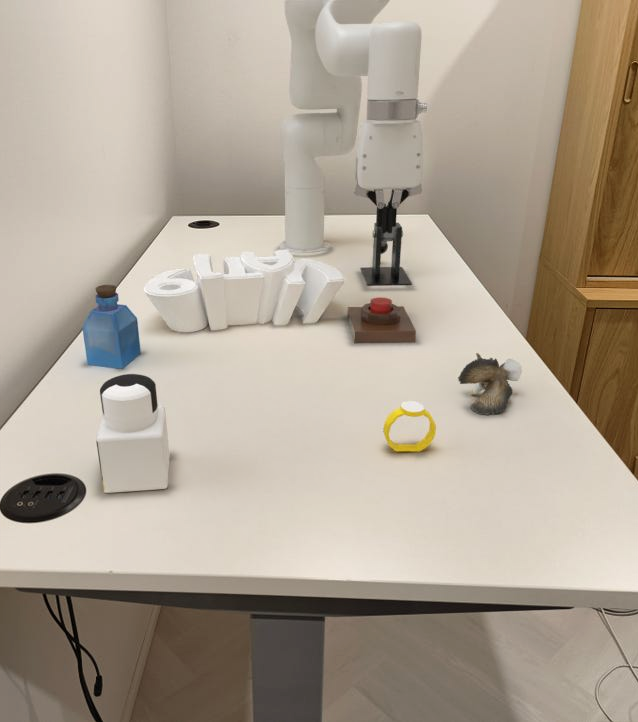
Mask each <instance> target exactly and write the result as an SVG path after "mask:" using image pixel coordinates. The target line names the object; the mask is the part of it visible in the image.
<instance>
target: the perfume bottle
mask: <svg viewBox="0 0 638 722" xmlns="http://www.w3.org/2000/svg"><path fill="white" fill-rule="evenodd" d="M116 291H117V286H116V284H115V285H114V284H102V285H98V286H96V287H95V292H96V295H95V303H96V304H97V307H95V308H93V309H92V310H90V311H89V313H88V315H87V318H86V320H85V322H84V324H83V326H82V328H81V329H82V334H83V341H84V349H85V356H86V363H87V365H89V366H96V367H97V366H98V367H103V368H104V367H105V368H111V369H119V370H123V369H124V368H125V367H126V366H128V365H129V364H130V363H131V362H132V361H134V360H135V359H136V358H138V357H139V356H140V355H141V354H142V352H141V351H142V350H141V342H140V332H139V323H138V317H137V316H136V315H135V314H134V313H133V312H132V310H131V309H130V308H129V307H128V306H127V304H118V302H119V300H120V298H119V294H118V292H116Z"/></svg>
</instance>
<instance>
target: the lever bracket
mask: <svg viewBox="0 0 638 722" xmlns="http://www.w3.org/2000/svg"><path fill="white" fill-rule="evenodd" d="M373 224H374V225H373V230H372V238H373V245H372V263H371V264H372V265H371V266H370V267H366V266H365V267H360V272H361V274H362V277H363V278H364V281H365V284H366V286H367V287H372V286H373V287H382V286H383V287H385V286H391V287H392V286H412V285H413V284H412V281H411V280H410V278H409V276H408V274H407V273H406V271H405V269H404V268H403V267H402V266H401V253H402V252H401V251H402V240H403V239H402V238H403V236H404V231H403V226H402V225H401V223H400V222H396V227H394V239H393V240H392V248H391V263H390V265H391V266H381V258H382V254H381V242H382V233H381V231H380V227H377V226H376V222H374V223H373Z"/></svg>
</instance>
